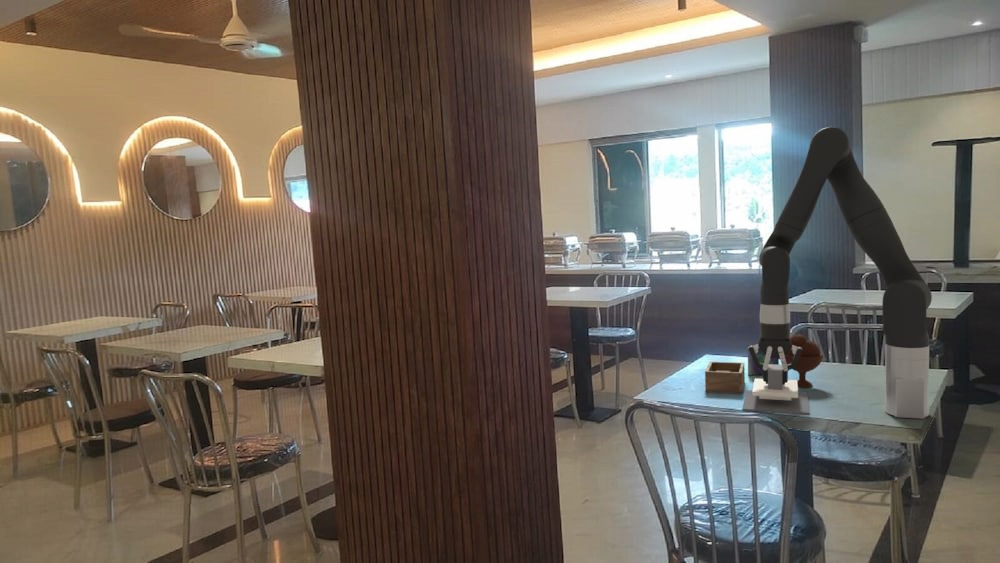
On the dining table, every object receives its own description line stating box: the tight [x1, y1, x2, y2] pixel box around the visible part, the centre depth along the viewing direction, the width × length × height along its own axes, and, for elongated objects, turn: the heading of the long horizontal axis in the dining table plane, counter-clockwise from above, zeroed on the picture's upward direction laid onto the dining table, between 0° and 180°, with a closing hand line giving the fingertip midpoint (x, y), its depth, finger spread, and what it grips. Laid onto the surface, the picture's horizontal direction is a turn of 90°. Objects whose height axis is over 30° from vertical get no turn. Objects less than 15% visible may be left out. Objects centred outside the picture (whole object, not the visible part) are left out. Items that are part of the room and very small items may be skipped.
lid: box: [752, 364, 799, 400], centre depth 182 cm, size 15×11×7 cm
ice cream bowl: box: [785, 333, 824, 389], centre depth 197 cm, size 11×11×15 cm
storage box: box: [704, 361, 746, 395], centre depth 200 cm, size 14×10×6 cm
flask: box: [747, 346, 780, 377], centre depth 213 cm, size 9×3×11 cm, turn 76°
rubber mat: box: [741, 389, 811, 415], centre depth 182 cm, size 20×16×1 cm
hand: (775, 383), depth 182 cm, fingers closed on lid, 3 cm apart
